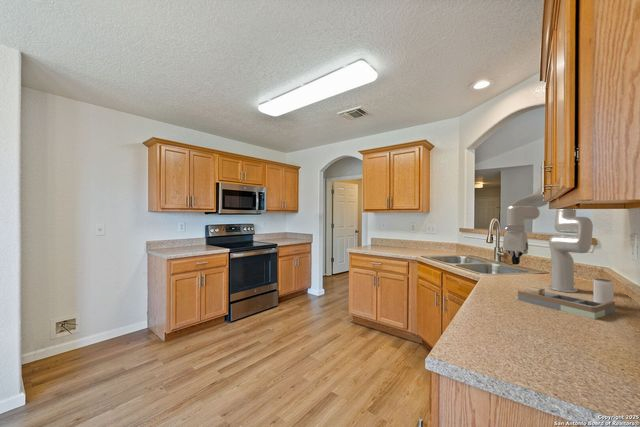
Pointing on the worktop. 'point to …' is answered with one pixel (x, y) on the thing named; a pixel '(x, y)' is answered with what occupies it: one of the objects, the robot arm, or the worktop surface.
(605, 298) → the can
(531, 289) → the block
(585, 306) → the trap deck
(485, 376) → the worktop surface
